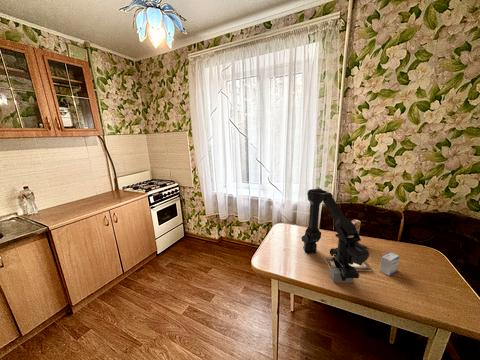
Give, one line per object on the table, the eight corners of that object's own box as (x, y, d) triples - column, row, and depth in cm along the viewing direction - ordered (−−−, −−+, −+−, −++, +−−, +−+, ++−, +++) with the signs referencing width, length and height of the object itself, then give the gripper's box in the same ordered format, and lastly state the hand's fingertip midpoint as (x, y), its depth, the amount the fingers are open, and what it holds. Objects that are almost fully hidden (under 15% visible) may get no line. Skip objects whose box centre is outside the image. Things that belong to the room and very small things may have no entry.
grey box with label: (333, 282, 95) (333, 272, 93) (330, 276, 98) (330, 267, 97) (352, 282, 94) (353, 273, 93) (348, 276, 98) (349, 267, 96)
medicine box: (388, 276, 97) (391, 261, 95) (379, 271, 101) (381, 256, 99) (397, 270, 100) (400, 256, 98) (387, 265, 104) (390, 251, 102)
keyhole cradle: (331, 270, 103) (331, 267, 102) (325, 259, 111) (325, 256, 111) (371, 271, 101) (371, 268, 100) (362, 260, 110) (362, 257, 109)
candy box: (350, 247, 121) (353, 225, 118) (344, 244, 125) (346, 222, 121) (358, 243, 126) (361, 221, 122) (351, 240, 130) (353, 218, 126)
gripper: (374, 262, 82) (369, 293, 86) (352, 238, 100) (349, 265, 104) (346, 261, 83) (343, 292, 87) (330, 238, 101) (328, 264, 105)
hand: (341, 277), depth 96 cm, fingers closed on grey box with label, 4 cm apart
